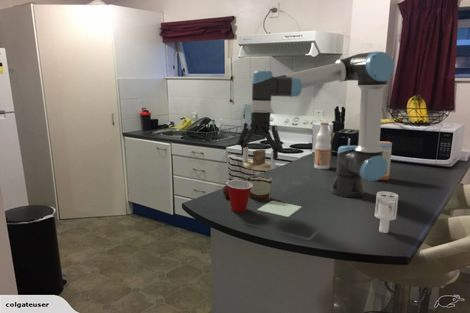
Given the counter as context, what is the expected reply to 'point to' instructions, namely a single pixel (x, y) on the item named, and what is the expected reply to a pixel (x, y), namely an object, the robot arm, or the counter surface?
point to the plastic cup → (239, 194)
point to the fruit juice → (323, 147)
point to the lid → (258, 161)
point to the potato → (226, 191)
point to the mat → (279, 208)
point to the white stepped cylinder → (386, 209)
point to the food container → (260, 186)
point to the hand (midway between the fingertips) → (258, 165)
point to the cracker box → (386, 157)
